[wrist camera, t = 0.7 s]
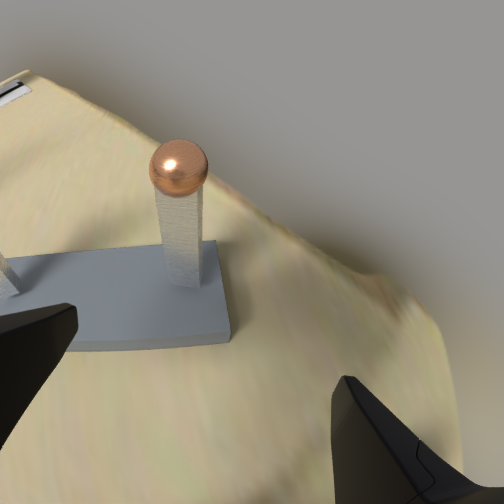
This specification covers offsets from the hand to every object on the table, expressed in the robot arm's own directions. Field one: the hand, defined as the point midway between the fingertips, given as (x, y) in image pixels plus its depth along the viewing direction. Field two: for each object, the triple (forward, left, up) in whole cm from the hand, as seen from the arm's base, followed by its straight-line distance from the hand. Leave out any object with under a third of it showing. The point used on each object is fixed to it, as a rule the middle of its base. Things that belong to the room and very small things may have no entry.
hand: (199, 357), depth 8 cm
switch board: (+1, +13, -15) cm, 20 cm away
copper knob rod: (+7, +7, -12) cm, 16 cm away
